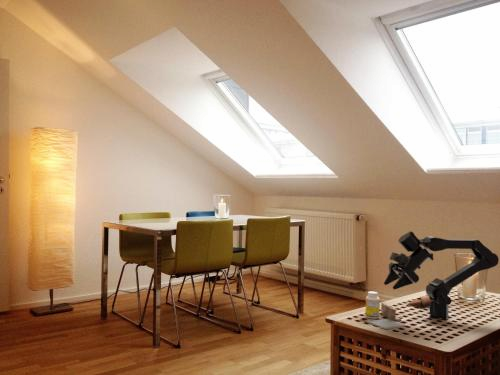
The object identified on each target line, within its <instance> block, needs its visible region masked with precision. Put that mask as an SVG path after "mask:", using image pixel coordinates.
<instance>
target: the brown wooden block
mask: <svg viewBox="0 0 500 375" xmlns="http://www.w3.org/2000/svg"><path fill="white" fill-rule="evenodd" d="M380 306H381V310H380V312H381V315H382V316H384V317H385V318H386V319H389V320H392V321H395V322H402V319H401V317H399V316H397V315H396V314H397V312H396V311H397V310H396V309H395V308H394V307H392V306H390V305H388V304H387V303H385V302H381V305H380Z"/></svg>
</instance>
